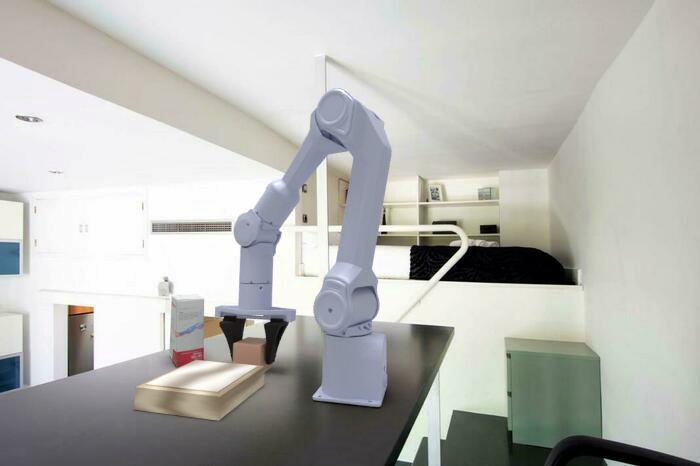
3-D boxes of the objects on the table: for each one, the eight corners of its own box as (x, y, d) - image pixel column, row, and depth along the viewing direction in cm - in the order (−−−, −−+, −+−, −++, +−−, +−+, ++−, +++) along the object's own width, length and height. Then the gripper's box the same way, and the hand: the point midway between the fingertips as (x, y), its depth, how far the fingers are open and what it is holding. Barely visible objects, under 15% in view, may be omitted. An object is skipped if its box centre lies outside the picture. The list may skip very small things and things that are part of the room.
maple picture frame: (264, 384, 53) (264, 364, 53) (218, 420, 41) (219, 394, 42) (195, 377, 56) (195, 358, 56) (134, 409, 44) (135, 385, 44)
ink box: (204, 363, 63) (207, 298, 64) (173, 368, 60) (176, 299, 61) (195, 352, 70) (198, 293, 71) (167, 355, 67) (170, 294, 68)
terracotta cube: (272, 367, 62) (273, 338, 62) (259, 376, 57) (260, 345, 57) (247, 364, 63) (248, 336, 63) (232, 373, 58) (233, 343, 58)
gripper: (302, 282, 63) (300, 358, 62) (231, 280, 66) (228, 352, 65) (287, 285, 56) (285, 370, 56) (208, 282, 60) (205, 363, 59)
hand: (253, 361), depth 60 cm, fingers open, 6 cm apart
